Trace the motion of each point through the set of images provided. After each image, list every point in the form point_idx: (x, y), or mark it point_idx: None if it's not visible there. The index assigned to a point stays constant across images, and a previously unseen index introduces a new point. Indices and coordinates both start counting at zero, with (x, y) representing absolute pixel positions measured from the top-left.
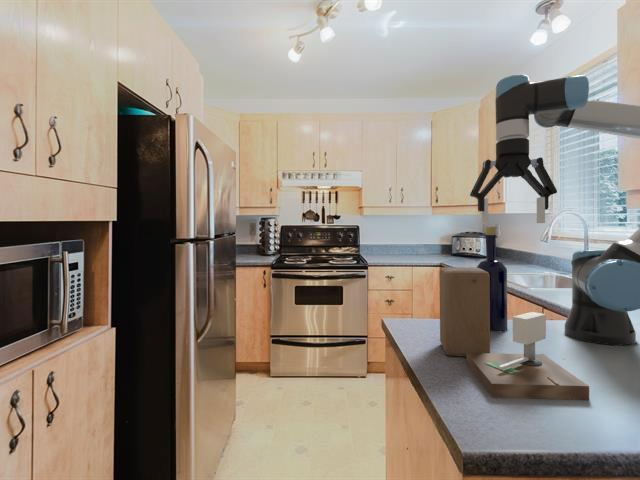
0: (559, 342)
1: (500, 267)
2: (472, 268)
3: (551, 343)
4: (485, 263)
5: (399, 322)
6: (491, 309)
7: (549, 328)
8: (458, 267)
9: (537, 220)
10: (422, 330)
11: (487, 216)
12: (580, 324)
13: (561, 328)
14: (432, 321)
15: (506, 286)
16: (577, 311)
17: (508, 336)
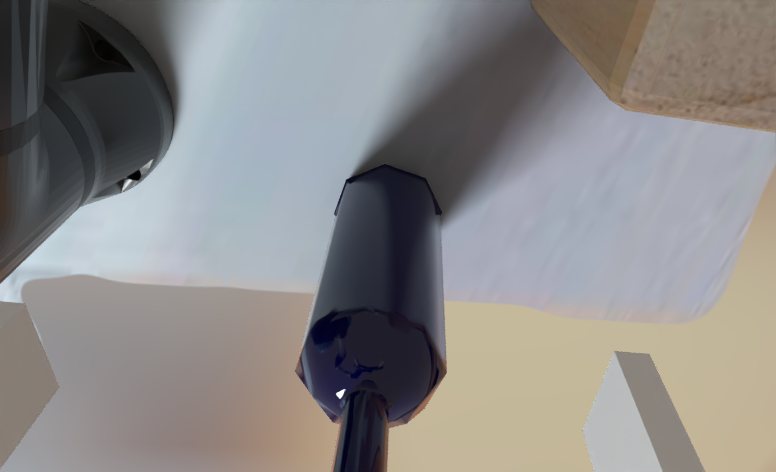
0: (229, 36)
1: (344, 332)
2: (721, 24)
3: (261, 25)
4: (411, 370)
5: (679, 284)
6: (403, 213)
7: (200, 195)
8: (769, 103)
9: (38, 395)
10: (646, 191)
11: (655, 426)
12: (122, 80)
13: (161, 193)
14: (556, 288)
15: (326, 274)
16: (102, 123)
17: (375, 111)
